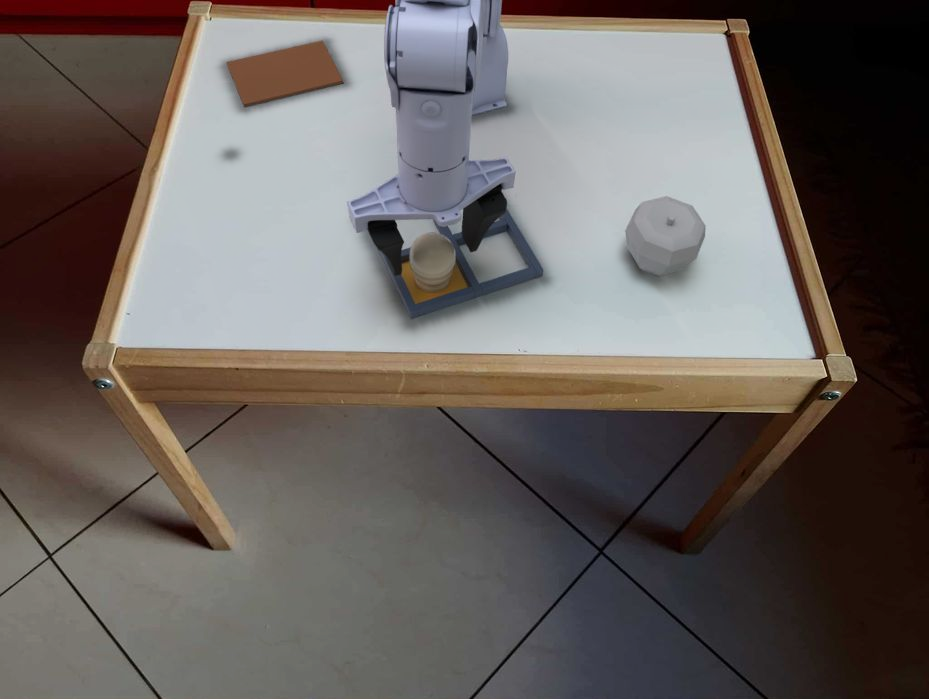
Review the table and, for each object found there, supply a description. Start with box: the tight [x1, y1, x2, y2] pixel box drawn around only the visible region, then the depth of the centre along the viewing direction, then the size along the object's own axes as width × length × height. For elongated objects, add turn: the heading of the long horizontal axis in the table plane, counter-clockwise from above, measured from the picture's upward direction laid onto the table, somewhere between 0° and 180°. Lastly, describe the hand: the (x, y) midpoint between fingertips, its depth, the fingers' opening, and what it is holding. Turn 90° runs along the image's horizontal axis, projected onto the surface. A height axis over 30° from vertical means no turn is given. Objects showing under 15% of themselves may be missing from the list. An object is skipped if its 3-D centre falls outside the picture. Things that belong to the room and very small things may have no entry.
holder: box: [378, 208, 544, 320], centre depth 76 cm, size 14×14×2 cm
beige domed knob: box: [409, 231, 456, 293], centre depth 71 cm, size 4×4×6 cm
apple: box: [624, 195, 707, 277], centre depth 74 cm, size 8×8×7 cm
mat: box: [226, 40, 344, 107], centre depth 90 cm, size 12×8×1 cm, turn 113°
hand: (432, 255), depth 71 cm, fingers open, 7 cm apart
